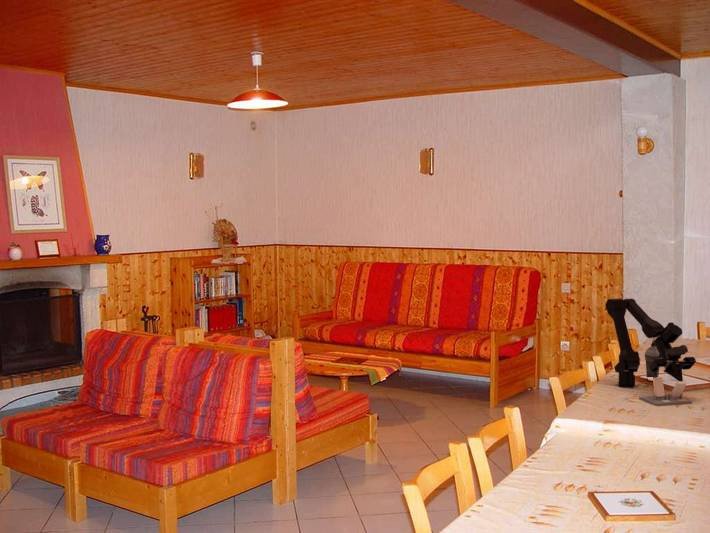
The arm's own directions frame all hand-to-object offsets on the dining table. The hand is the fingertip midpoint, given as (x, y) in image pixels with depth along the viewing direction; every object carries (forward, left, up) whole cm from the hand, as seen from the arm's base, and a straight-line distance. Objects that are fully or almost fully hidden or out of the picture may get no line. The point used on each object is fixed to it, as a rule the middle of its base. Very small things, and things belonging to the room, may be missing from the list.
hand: (681, 381), depth 333 cm
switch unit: (-5, +1, -9) cm, 10 cm away
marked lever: (-2, +3, -7) cm, 8 cm away
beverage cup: (-8, +41, -9) cm, 43 cm away
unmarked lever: (-8, 0, -7) cm, 10 cm away
